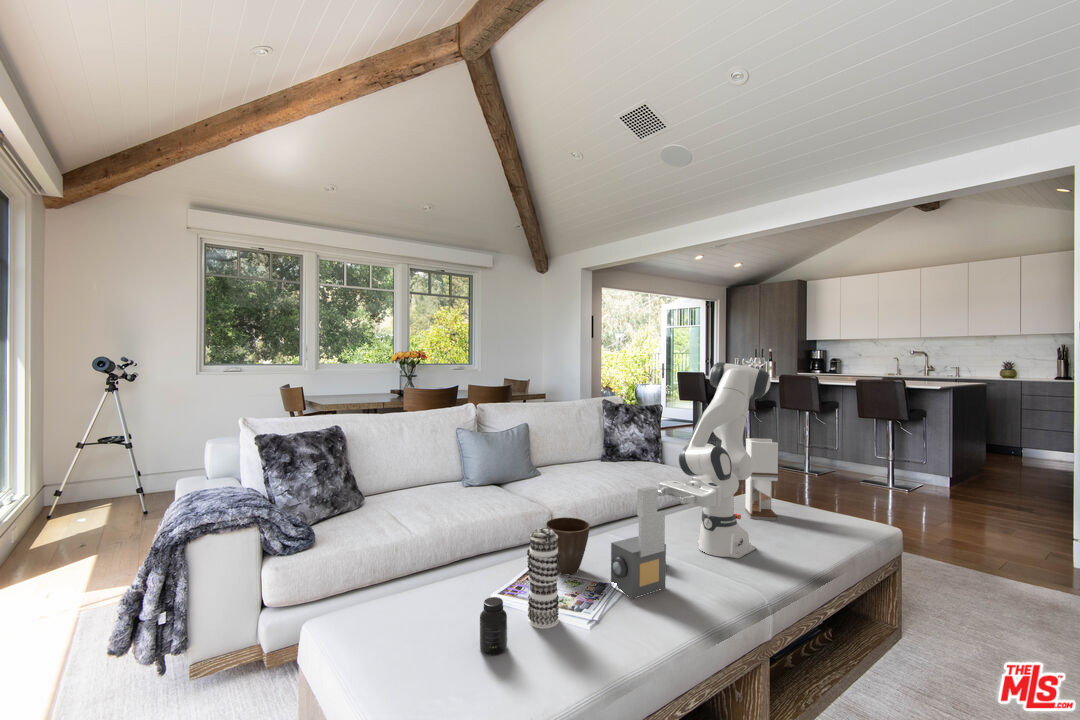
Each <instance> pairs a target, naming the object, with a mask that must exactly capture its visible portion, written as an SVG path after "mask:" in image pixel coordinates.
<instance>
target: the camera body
mask: <svg viewBox="0 0 1080 720" xmlns="http://www.w3.org/2000/svg"><path fill="white" fill-rule="evenodd" d="M638 545H639V535H638V536H633V537H629V538H624V539H621V540H617V541H613V542H610V546H611V547H610V548H611V549H610V583H611V582H614V583H617V586H618V588H619V589H621V590H622V591H623V592H624V593H625V594H626V595H628V596H629V597H628V596H627V597H628V598H630V597H631V598H633V599H636V598H635V597H637V596H640V597H642V596H641V595H643V596H645V595H644V594H646V595H648V594H647V593H649V594H651V593H650V592H652V593H654V592H653V591H655V592H657V591H656V590H658V591H660V590H659V589H661V590H664V589H663V588H665V589H666V579H667V577H666V569H667V568H666V565H667V564H666V563H667V562H666V560H667V557H666V555H667V554H666V553H667V544H666V543H665V551H662V552H659V553H655V554H651V555H647V556H644V557H639V556H638ZM625 594H624V595H625ZM626 595H625V596H626ZM631 598H630V599H631ZM637 598H638V597H637Z"/></svg>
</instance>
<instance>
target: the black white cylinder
mask: <svg viewBox="0 0 1080 720" xmlns="http://www.w3.org/2000/svg"><path fill="white" fill-rule="evenodd" d="M528 537H529V539H530V544H529V549H527V551H526V552H527V553H526V555H527V556H528V557H527V562H526V563H527V569H528V570H527V575H528V581H529V589H528V590H529V593H528V597H527V599H528V602H527V604H528V608H527V612H528V613H527V617H528V619H527V620H528V621H527V622H528V624H529V625H530V626H532V627H533V628H537V629H541V630H542V629H543V630H544V629H545V630H546V629H550V628H551V629H552V628H553V627H555V626H557V625H558V623H559V600H560V599H559V594H558V590H559V589H558V581H559V580H560V579H559V575H560V573H559V571H558V569H559V568H560V567H559V565H558V564H557V563H558V562H559V561H560V558H559V557H558V556H560V552H558V546H557V538H558V535H557V534H555V532H554V531H553V530H551V529H548V528H546V527H540V528H536V529H534V530H533V531H532V533H530V534H529V535H528Z"/></svg>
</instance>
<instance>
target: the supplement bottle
mask: <svg viewBox="0 0 1080 720" xmlns="http://www.w3.org/2000/svg"><path fill="white" fill-rule="evenodd" d="M507 615H508V614H507V612H506V611H505V609H504V601H503V599H502V598H501V597H497V596H496V597H495V596H491V597H487V598H486V599H484V601H483V610H482V611H481V612H480V615H479V649H480V651H481V652H482V653H483V654H484V655H487V656H498V655H501V654H503V653H505V651H506V650H507V647H508V616H507Z"/></svg>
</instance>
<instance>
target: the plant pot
mask: <svg viewBox="0 0 1080 720" xmlns="http://www.w3.org/2000/svg"><path fill="white" fill-rule="evenodd" d="M545 528H548V529H551V530H553V531H554V532H555V534H557V535H558V538H557V546H558V552H560V556H558V557H559V558H560V561H559V562H558V563H557V564H558V565H559V567H560V568H559V569H558V571H559V574H560V573H561V574H560V575H563V574H569V575H568V576H573V575H575V574H578V571H579V569H580V567H581V565H582V561H583V558H584V555H585V551H586V547H587V544H588V540H589V533H590V529H591V526H590V523H589V522H588V521H587V520H584V519H580V518H577V517H568V516H567V517H555V518H551V519H549V520H548V521H547V522H546V523H545Z"/></svg>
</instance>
